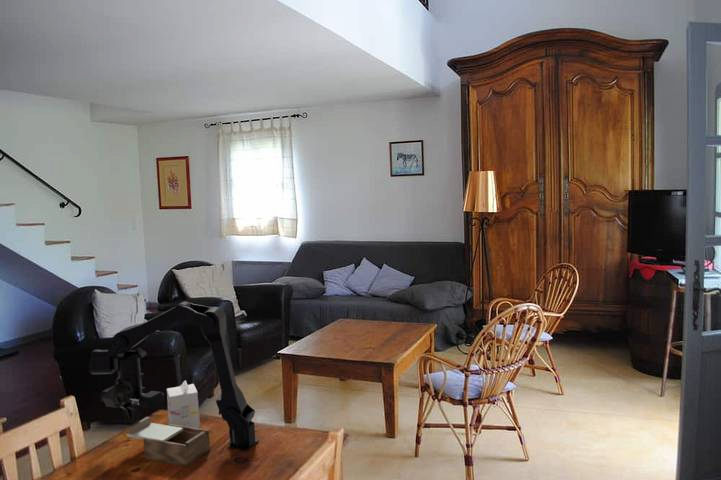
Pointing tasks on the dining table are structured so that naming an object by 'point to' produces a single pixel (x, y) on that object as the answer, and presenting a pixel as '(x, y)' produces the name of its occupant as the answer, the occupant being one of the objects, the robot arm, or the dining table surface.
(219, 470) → the dining table surface
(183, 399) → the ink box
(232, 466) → the dining table surface
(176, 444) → the walnut box
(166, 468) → the dining table surface
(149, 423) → the lid
